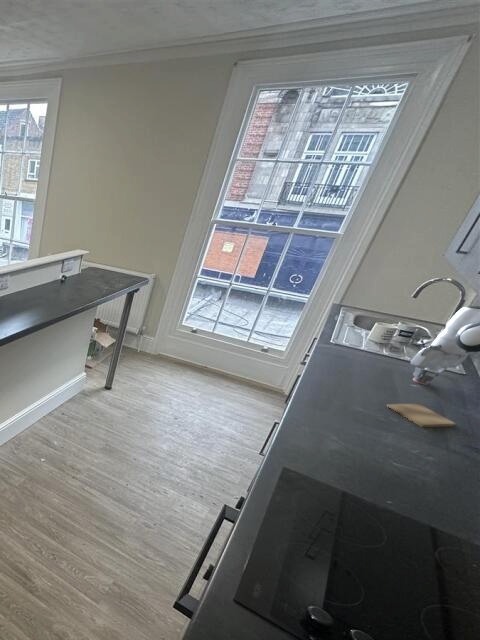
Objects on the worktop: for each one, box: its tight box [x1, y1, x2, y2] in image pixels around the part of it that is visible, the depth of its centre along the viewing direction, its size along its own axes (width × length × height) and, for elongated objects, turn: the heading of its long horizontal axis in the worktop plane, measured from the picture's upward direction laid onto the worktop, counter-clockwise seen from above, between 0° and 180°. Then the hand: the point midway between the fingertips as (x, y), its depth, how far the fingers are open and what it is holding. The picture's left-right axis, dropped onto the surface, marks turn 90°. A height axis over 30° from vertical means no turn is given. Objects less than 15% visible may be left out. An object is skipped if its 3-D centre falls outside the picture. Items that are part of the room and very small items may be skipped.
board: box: [386, 403, 457, 428], centre depth 141 cm, size 12×14×1 cm
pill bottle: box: [412, 366, 441, 386], centre depth 162 cm, size 5×5×8 cm
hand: (424, 375), depth 163 cm, fingers open, 8 cm apart
